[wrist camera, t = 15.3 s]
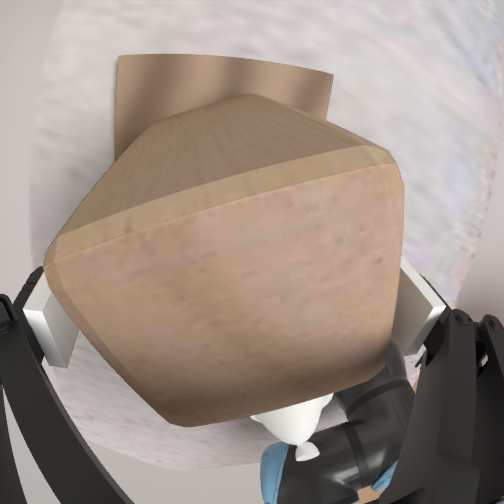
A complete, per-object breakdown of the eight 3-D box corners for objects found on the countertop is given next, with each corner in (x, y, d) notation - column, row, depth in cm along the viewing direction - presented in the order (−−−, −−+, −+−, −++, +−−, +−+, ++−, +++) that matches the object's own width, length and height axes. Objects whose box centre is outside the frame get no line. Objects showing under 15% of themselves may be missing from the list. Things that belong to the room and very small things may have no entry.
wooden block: (181, 225, 28) (173, 437, 12) (144, 124, 22) (18, 268, 6) (284, 195, 28) (390, 380, 11) (261, 90, 22) (420, 150, 6)
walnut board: (327, 74, 23) (333, 74, 22) (293, 243, 33) (297, 251, 32) (122, 56, 20) (118, 55, 19) (123, 239, 29) (121, 246, 28)
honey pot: (325, 335, 43) (369, 442, 28) (247, 368, 44) (269, 477, 30) (296, 277, 36) (351, 412, 21) (202, 321, 37) (213, 458, 23)
